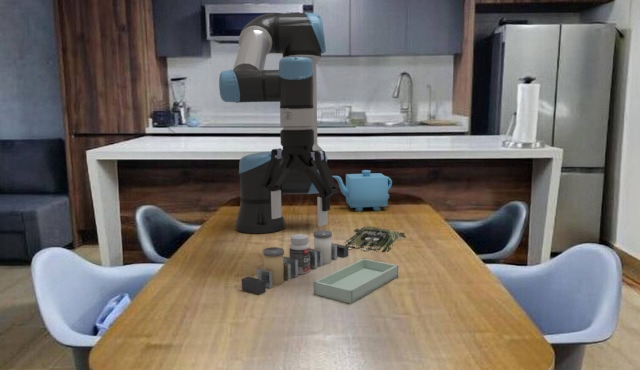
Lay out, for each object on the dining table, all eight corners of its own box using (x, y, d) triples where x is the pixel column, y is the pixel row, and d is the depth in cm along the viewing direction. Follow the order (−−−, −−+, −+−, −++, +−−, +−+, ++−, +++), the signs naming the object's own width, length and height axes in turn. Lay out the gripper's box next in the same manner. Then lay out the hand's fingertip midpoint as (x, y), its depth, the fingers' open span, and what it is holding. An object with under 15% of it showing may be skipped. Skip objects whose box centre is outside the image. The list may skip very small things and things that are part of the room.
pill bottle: (307, 275, 122) (307, 239, 121) (287, 273, 123) (286, 238, 122) (312, 268, 127) (311, 234, 125) (292, 267, 128) (292, 233, 126)
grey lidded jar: (310, 262, 131) (309, 233, 130) (321, 257, 135) (320, 229, 134) (324, 265, 129) (324, 236, 128) (335, 260, 132) (335, 232, 131)
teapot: (388, 204, 198) (388, 167, 196) (395, 210, 187) (395, 171, 185) (329, 206, 196) (328, 169, 194) (333, 213, 185) (332, 173, 183)
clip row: (241, 289, 113) (241, 271, 113) (332, 252, 139) (332, 237, 139) (259, 294, 110) (258, 276, 110) (348, 255, 136) (348, 240, 136)
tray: (313, 293, 111) (313, 281, 110) (363, 269, 126) (363, 258, 125) (350, 303, 105) (350, 291, 105) (398, 276, 120) (398, 265, 120)
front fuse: (259, 283, 117) (258, 251, 116) (273, 277, 121) (272, 246, 120) (275, 287, 115) (274, 254, 113) (288, 281, 118) (288, 249, 117)
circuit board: (404, 256, 137) (404, 242, 137) (335, 253, 140) (335, 239, 140) (406, 231, 161) (406, 219, 161) (347, 229, 165) (347, 218, 164)
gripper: (245, 128, 124) (248, 217, 127) (332, 130, 109) (333, 231, 112) (267, 126, 130) (269, 212, 133) (353, 128, 115) (353, 225, 118)
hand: (298, 221), depth 122 cm, fingers open, 13 cm apart
